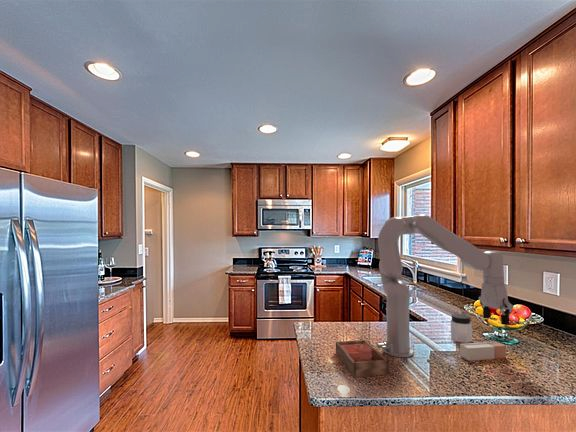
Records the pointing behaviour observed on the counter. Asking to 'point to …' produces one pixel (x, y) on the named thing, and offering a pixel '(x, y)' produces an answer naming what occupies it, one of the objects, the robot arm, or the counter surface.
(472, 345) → the beige box
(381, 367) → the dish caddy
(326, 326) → the counter surface
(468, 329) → the jar
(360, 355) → the pottery
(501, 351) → the stub
